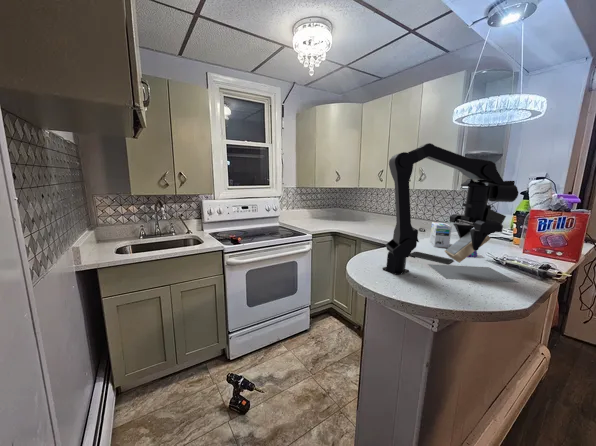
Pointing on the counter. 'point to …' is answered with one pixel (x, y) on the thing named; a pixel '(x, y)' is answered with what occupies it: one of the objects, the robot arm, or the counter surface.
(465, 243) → the maple block
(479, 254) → the purple checkered dome
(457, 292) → the counter surface
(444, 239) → the light bulb box
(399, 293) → the counter surface
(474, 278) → the rubber mat
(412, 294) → the counter surface
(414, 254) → the phone
